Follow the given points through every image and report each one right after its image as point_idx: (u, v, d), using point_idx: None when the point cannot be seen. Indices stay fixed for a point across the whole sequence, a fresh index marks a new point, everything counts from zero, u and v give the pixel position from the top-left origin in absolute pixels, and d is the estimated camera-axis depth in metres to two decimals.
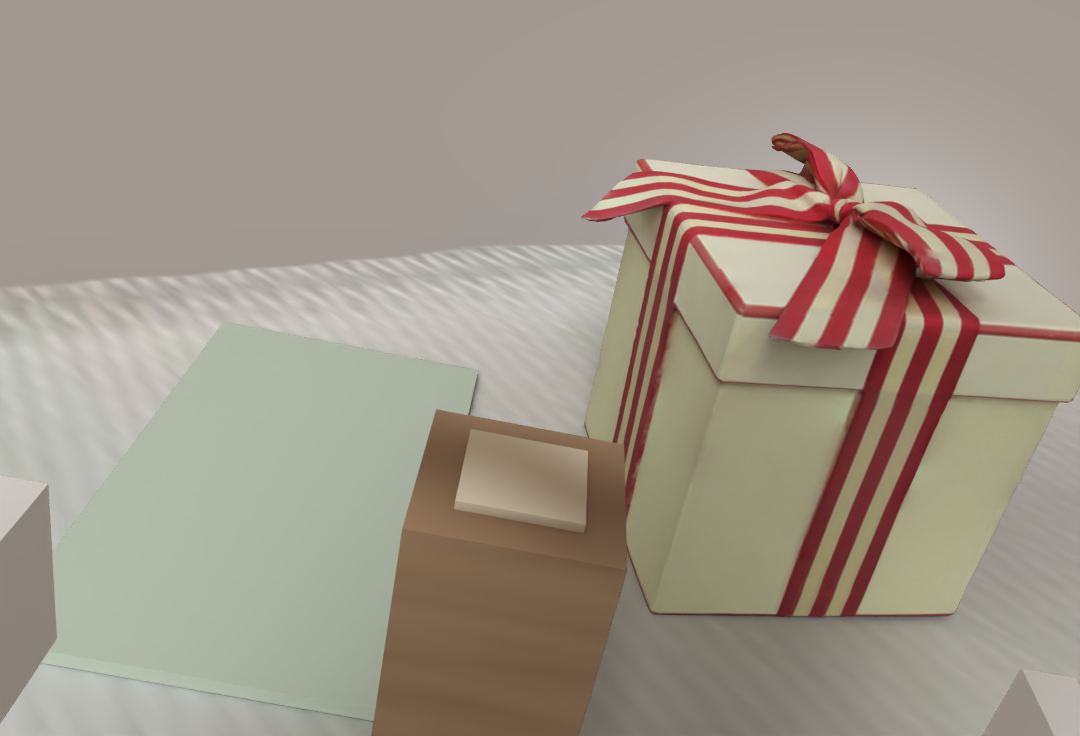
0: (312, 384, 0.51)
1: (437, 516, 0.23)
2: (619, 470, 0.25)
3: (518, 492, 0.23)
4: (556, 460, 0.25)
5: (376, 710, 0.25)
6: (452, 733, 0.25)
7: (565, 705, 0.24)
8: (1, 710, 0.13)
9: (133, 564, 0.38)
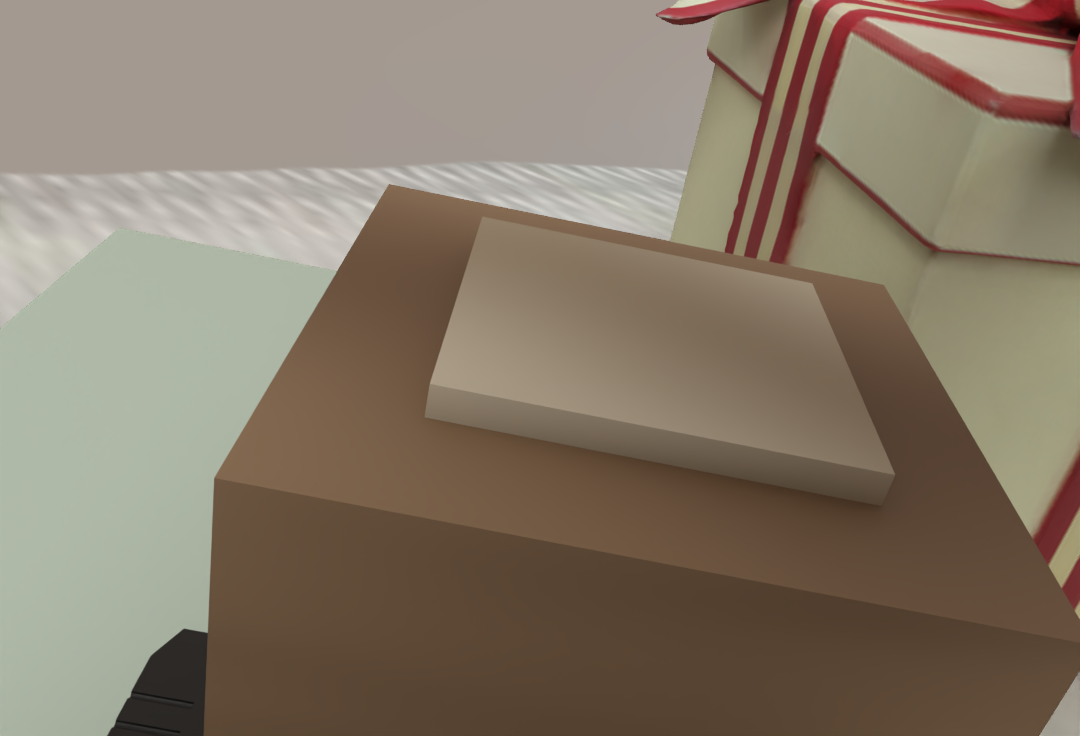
0: (238, 310, 0.35)
1: (362, 438, 0.06)
2: (902, 338, 0.09)
3: (644, 370, 0.07)
4: (735, 298, 0.08)
5: None
6: None
7: None
8: None
9: None
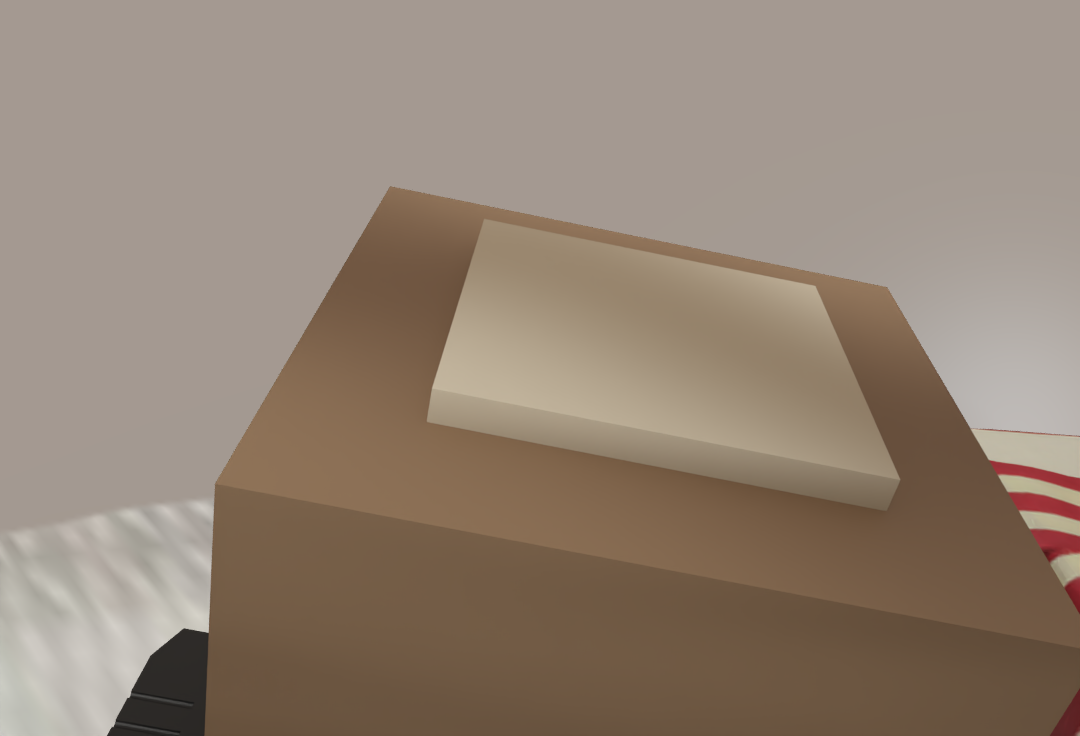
0: None
1: (364, 443, 0.06)
2: (906, 341, 0.09)
3: (647, 374, 0.07)
4: (738, 301, 0.08)
5: None
6: None
7: None
8: None
9: None
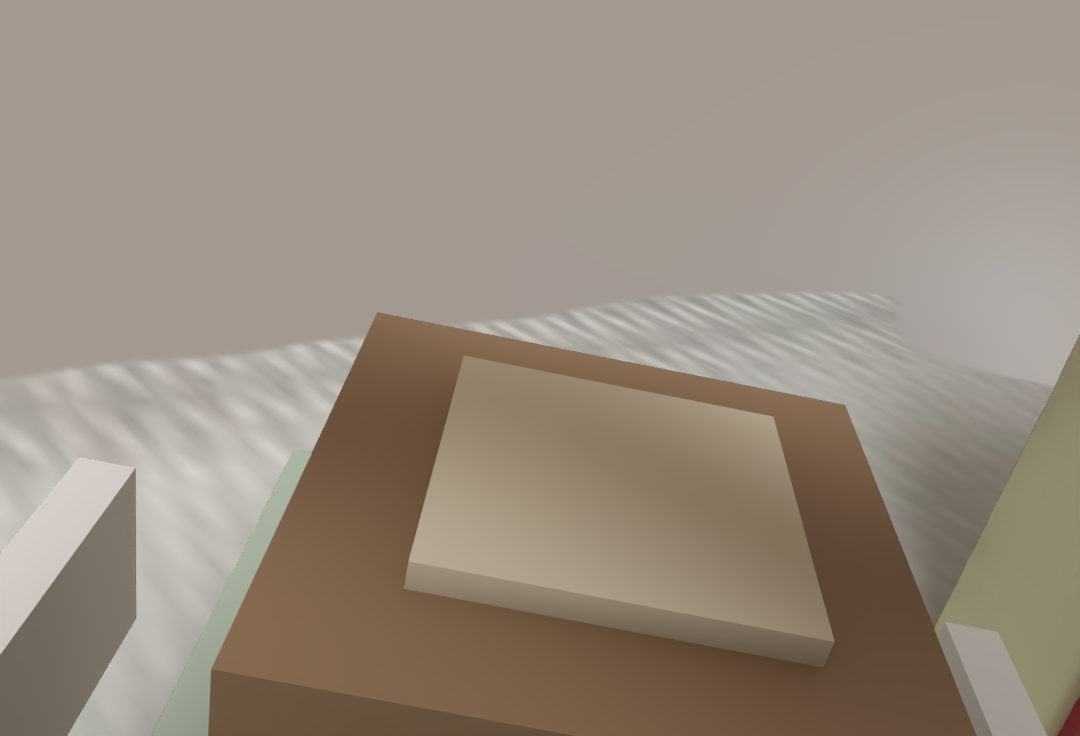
0: None
1: (347, 616, 0.07)
2: (858, 470, 0.10)
3: (608, 532, 0.08)
4: (699, 439, 0.09)
5: None
6: None
7: None
8: (91, 684, 0.13)
9: None
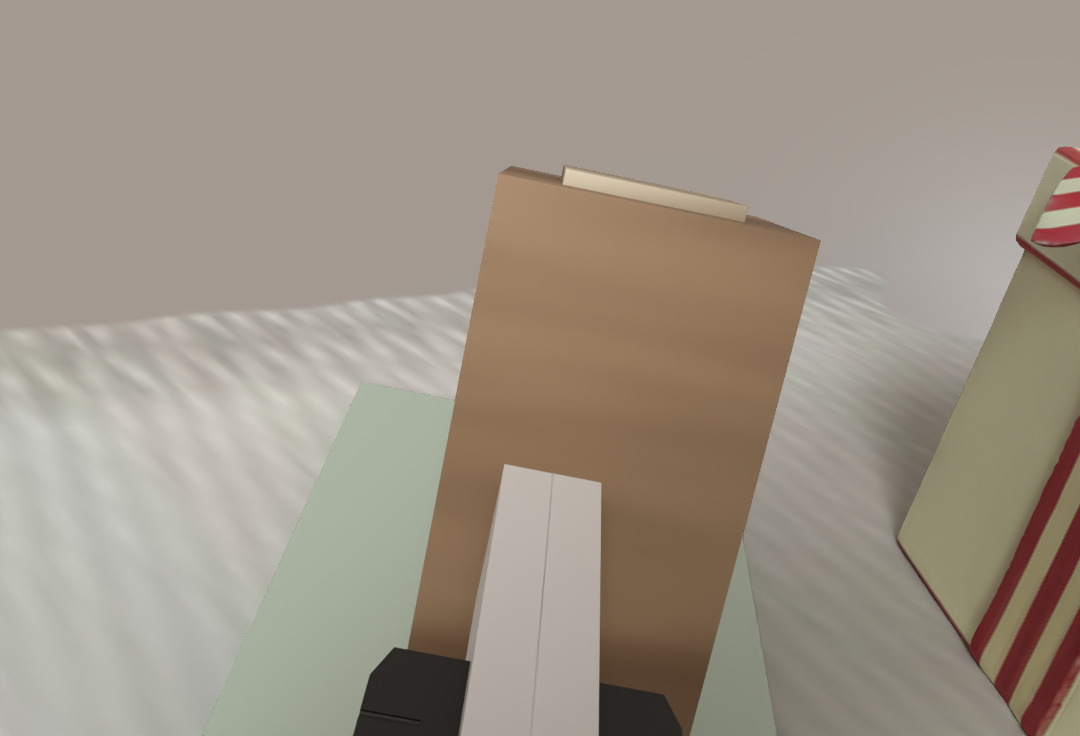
0: None
1: (543, 181, 0.16)
2: (762, 220, 0.19)
3: (646, 184, 0.17)
4: (683, 190, 0.19)
5: (433, 523, 0.16)
6: None
7: (719, 503, 0.16)
8: None
9: None
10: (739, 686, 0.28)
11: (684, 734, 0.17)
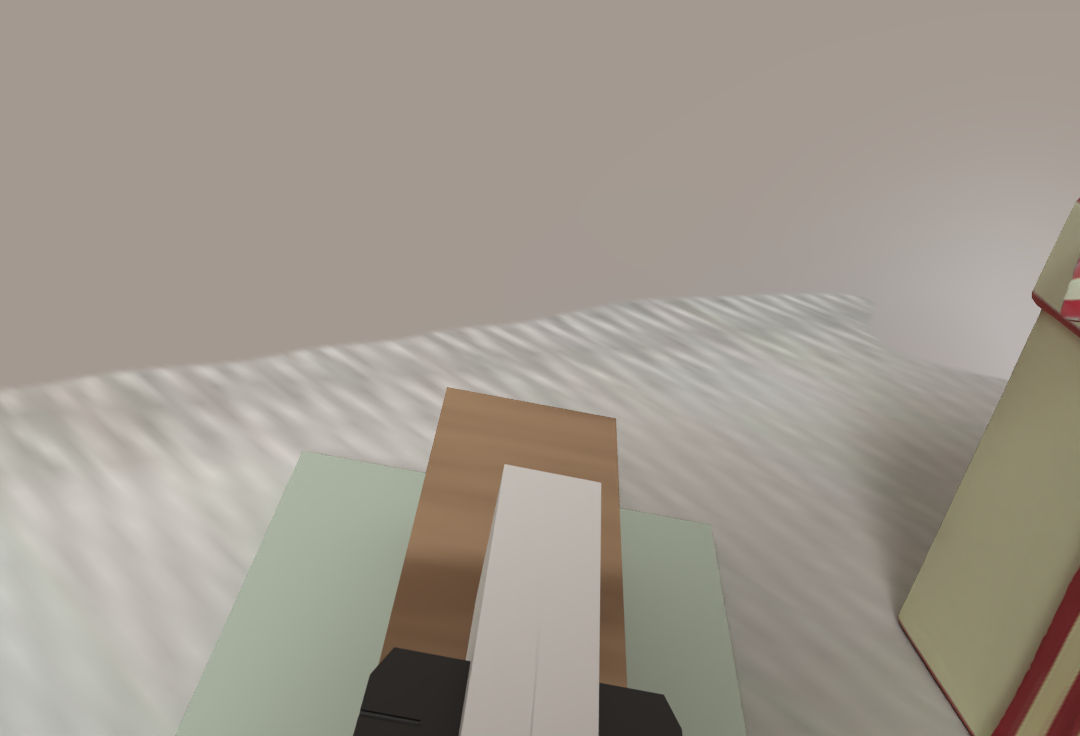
0: None
1: None
2: None
3: None
4: None
5: (419, 506, 0.24)
6: None
7: None
8: None
9: None
10: None
11: (620, 626, 0.22)
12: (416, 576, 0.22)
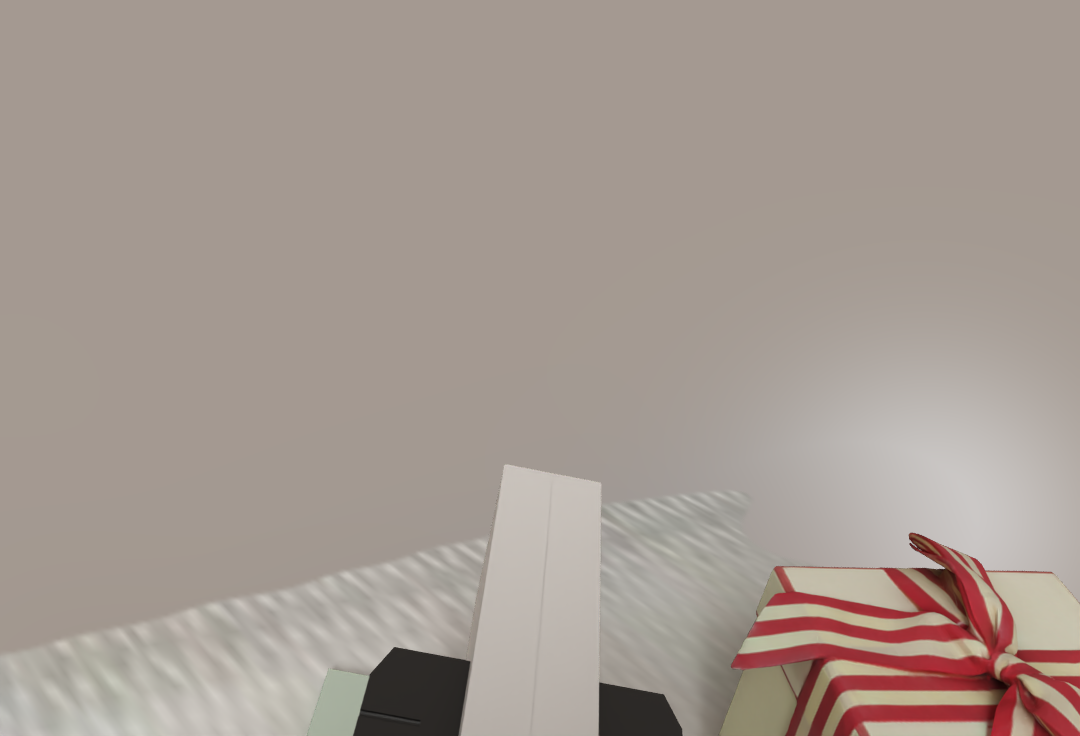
0: None
1: None
2: None
3: None
4: None
5: None
6: None
7: None
8: None
9: None
10: None
11: None
12: None
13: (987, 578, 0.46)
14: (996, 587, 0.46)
